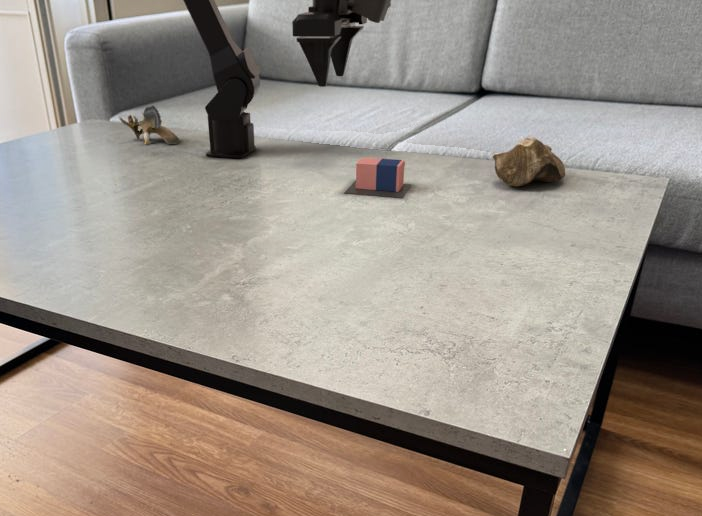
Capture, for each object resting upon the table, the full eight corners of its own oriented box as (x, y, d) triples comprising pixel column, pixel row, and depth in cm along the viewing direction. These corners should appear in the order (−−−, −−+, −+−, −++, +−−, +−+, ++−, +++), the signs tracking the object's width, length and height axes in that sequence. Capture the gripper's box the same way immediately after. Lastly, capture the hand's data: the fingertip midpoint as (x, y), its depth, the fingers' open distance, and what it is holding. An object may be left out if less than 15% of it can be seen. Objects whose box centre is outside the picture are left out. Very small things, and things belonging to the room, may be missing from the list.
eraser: (355, 188, 96) (356, 163, 94) (361, 182, 99) (362, 157, 97) (398, 192, 94) (400, 166, 92) (403, 185, 97) (405, 159, 95)
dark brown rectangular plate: (344, 193, 95) (344, 192, 95) (355, 180, 100) (355, 180, 100) (402, 198, 93) (402, 197, 92) (411, 185, 97) (411, 184, 97)
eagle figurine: (116, 140, 122) (158, 133, 117) (119, 100, 122) (161, 92, 118) (144, 155, 128) (184, 149, 124) (146, 117, 129) (187, 110, 125)
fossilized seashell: (554, 153, 99) (483, 168, 100) (564, 118, 93) (488, 134, 94) (571, 194, 96) (497, 208, 96) (582, 160, 90) (504, 176, 91)
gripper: (370, -34, 90) (367, 94, 98) (401, -39, 105) (396, 72, 113) (289, -31, 94) (292, 91, 102) (330, -37, 108) (330, 71, 116)
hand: (331, 81), depth 108 cm, fingers open, 9 cm apart
